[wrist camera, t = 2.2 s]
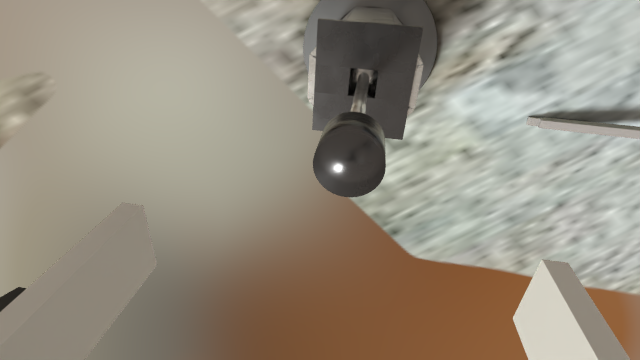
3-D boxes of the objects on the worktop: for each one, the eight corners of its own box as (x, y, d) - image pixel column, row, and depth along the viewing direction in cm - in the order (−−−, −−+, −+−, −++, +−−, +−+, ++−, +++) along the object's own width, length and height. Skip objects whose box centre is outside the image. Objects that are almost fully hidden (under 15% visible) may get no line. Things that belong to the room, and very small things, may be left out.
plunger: (325, 28, 31) (273, 83, 16) (413, 35, 31) (444, 100, 16) (320, 111, 35) (274, 217, 20) (398, 119, 35) (411, 236, 19)
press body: (331, 3, 41) (309, 17, 29) (417, 9, 40) (433, 26, 28) (324, 110, 48) (304, 159, 36) (398, 117, 47) (403, 170, 35)
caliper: (708, 124, 43) (755, 145, 38) (703, 132, 44) (748, 155, 38) (527, 115, 46) (546, 134, 40) (524, 123, 46) (543, 143, 41)
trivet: (306, -30, 41) (305, -30, 40) (450, -21, 39) (451, -21, 39) (302, 105, 49) (301, 107, 48) (421, 118, 47) (422, 120, 47)
